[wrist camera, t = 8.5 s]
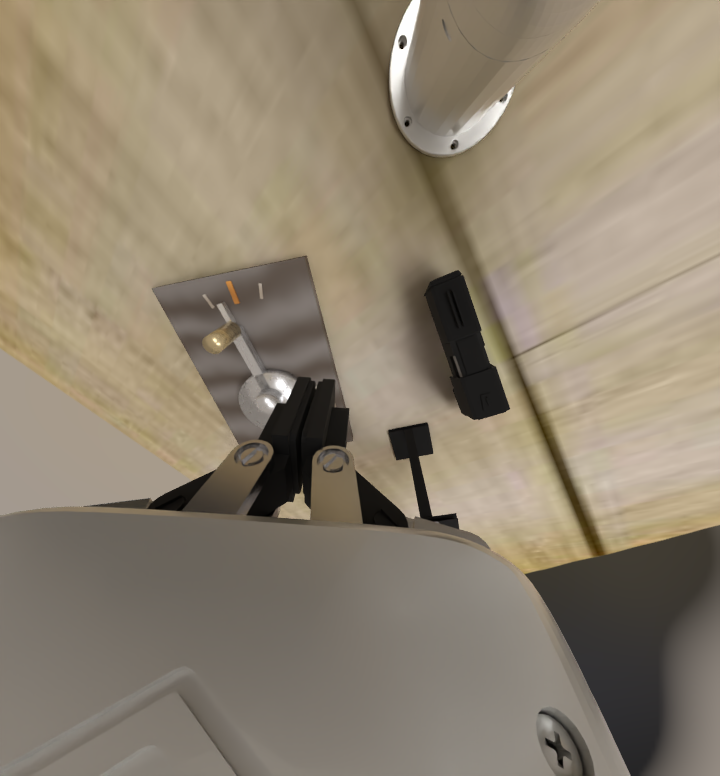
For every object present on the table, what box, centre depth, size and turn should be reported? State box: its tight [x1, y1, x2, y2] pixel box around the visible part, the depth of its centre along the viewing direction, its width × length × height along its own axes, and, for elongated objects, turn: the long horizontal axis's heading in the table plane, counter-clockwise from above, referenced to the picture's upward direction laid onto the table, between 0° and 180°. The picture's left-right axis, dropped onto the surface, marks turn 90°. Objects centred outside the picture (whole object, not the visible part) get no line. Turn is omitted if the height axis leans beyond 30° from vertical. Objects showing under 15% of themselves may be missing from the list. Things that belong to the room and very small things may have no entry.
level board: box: [152, 256, 353, 445], centre depth 43 cm, size 32×22×4 cm
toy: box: [424, 270, 510, 420], centre depth 38 cm, size 5×20×15 cm, turn 23°
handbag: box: [388, 423, 459, 529], centre depth 39 cm, size 10×8×30 cm
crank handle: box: [202, 302, 297, 429], centre depth 39 cm, size 23×12×7 cm, turn 17°
